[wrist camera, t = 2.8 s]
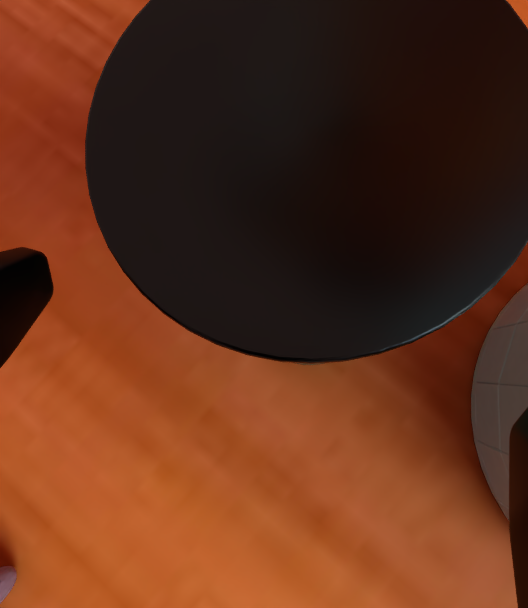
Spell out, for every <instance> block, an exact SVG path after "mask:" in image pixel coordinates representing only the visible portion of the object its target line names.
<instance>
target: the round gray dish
mask: <svg viewBox="0 0 528 608" xmlns="http://www.w3.org/2000/svg"><path fill="white" fill-rule="evenodd" d="M527 407H528V283H527V284H526V285H525V286H524V287H523V288H521V289H520V290H519V291H518V292H517V293H516V294H515V295H514V296H513V297H512V298H511V300H510V301H509V302H508V303H507V304H506V306H505V307H504V308H503V309H502V311H501V312H500V313H499V315H498V317H497V318H496V320H495V321H494V323H493V325H492V326H491V328H490V330H489V331H488V334H487V336H486V338H485V341H484V343H483V345H482V348H481V350H480V353H479V357H478V360H477V364H476V368H475V371H474V377H473V385H472V393H471V421H472V428H473V435H474V442H475V446H476V450H477V453H478V457H479V461H480V464H481V468H482V470H483V473H484V475H485V477H486V480H487V482H488V485H489V487H490V490H491V492H492V494H493V495H494V497H495V499H496V501H497V502H498V504H499V506H500V508H501V510H502V511H503V513H504V515H505V516H506V517H507V519H508V520H509V436H510V432H511V429H512V426H513V425H514V423H515V422H516V421H517V419H518V418H519V417H520V416H521V415H522V413H523V412H524V411H525V410H526V408H527Z"/></svg>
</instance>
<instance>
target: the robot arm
mask: <svg viewBox="0 0 528 608" xmlns="http://www.w3.org/2000/svg"><path fill="white" fill-rule="evenodd" d="M53 289H54V287H53V282H52V278H51V273H50V269H49V264H48V260H47V257H46V256H45V255H44V254H43V253H42V252H40V251H36V250H33V249H29V248H25V247H20V248H15V249H11V250H6V251H2V252H0V368H1V367H2V366H3V365H4V363H5V362H6V361H7V360H8V358H9V357H10V356H11V354H12V353H13V352H14V350H15V349H16V348H17V346H18V345H19V343H20V342H21V340H22V339H23V338H24V336H25V335H26V333H27V332H28V331H29V329H30V328H31V326H32V325H33V323H34V322H35V321H36V319H37V318H38V316H39V315H40V314H41V312H42V311H43V309H44V308H45V306H46V305H47V304H48V302H49V301H50V299H51V297H52V295H53ZM509 530H510V541H511V550H512V559H513V568H514V577H515V586H516V594H517V603H518V608H528V407H527V408H526V410H525V411H524V412H523V413H522V415H521V416H520V417H519V418H518V419H517V421H516V422H515V423H514V425H513V426H512V429H511V432H510V436H509Z"/></svg>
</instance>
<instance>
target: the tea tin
mask: <svg viewBox="0 0 528 608" xmlns="http://www.w3.org/2000/svg"><path fill="white" fill-rule="evenodd" d="M85 164H86V174H87V182H88V189H89V195H90V199H91V202H92V206H93V209H94V213H95V217H96V220H97V223H98V225H99V228H100V230H101V232H102V234H103V237H104V239H105V241H106V243H107V246H108V248H109V250H110V251H111V253H112V254H113V256H114V258H115V259H116V261H117V262H118V264H119V266H120V267H121V269H122V270H123V272H124V273H125V274H126V276H127V277H128V278H129V279H130V280H131V282H132V283H133V284H134V285H135V286H136V288H137V289H138V290H139V291H140V292H141V294H142V295H143V296H145V297H146V298H147V299H148V300H149V301H150V302H151V303H152V304H153V305H155V306H156V307H157V308H158V309H159V310H160V311H161V312H162V313H163V314H165V315H166V316H168V317H169V318H171V319H172V320H173V321H175V322H176V323H178V324H179V325H181V326H182V327H184V328H185V329H187V330H188V331H190V332H192V333H194V334H196V335H198V336H200V337H202V338H204V339H206V340H208V341H210V342H212V343H214V344H216V345H219V346H222V347H224V348H227V349H230V350H233V351H236V352H239V353H242V354H245V355H249V356H253V357H258V358H263V359H269V360H274V361H279V362H287V363H297V364H304V365H316V364H323V363H333V362H344V361H349V360H354V359H359V358H363V357H368V356H373V355H378V354H381V353H384V352H387V351H390V350H393V349H396V348H399V347H401V346H404V345H407V344H410V343H413V342H415V341H416V340H418V339H420V338H422V337H424V336H426V335H428V334H430V333H432V332H434V331H436V330H438V329H440V328H442V327H444V326H445V325H447V324H448V323H450V322H451V321H452V320H454V319H455V318H457V317H458V316H460V315H461V314H463V313H464V312H466V311H467V310H468V309H470V308H471V307H472V306H473V305H474V304H475V303H477V302H478V301H479V300H480V299H481V298H482V297H483V296H484V295H485V294H486V293H488V292H489V291H490V290H491V289H492V288H493V287H494V286H495V285H496V284H497V283H498V282H499V280H500V279H501V278H502V277H503V276H504V274H505V273H506V272H507V271H508V270H509V268H510V267H511V266H512V265H513V264H514V262H515V261H516V260H517V258H518V256H519V255H520V253H521V252H522V250H523V248H524V247H525V245H526V243H527V242H528V29H527V27H526V26H525V24H524V23H523V21H522V20H521V19H520V17H519V16H518V15H517V13H516V12H515V11H514V9H513V8H512V6H511V5H510V4H509V3H508V2H507V1H506V0H150V1H149V2H148V3H147V4H146V6H145V7H144V8H143V9H142V10H141V11H140V12H139V13H138V14H137V15H136V16H135V18H134V19H133V20H132V22H131V23H130V25H129V26H128V27H127V29H126V30H125V31H124V33H123V34H122V36H121V37H120V38H119V40H118V42H117V44H116V45H115V47H114V49H113V51H112V53H111V54H110V56H109V58H108V60H107V62H106V64H105V66H104V69H103V71H102V74H101V76H100V78H99V81H98V83H97V86H96V89H95V92H94V96H93V100H92V104H91V108H90V111H89V117H88V124H87V132H86V140H85Z"/></svg>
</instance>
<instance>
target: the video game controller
mask: <svg viewBox="0 0 528 608" xmlns="http://www.w3.org/2000/svg"><path fill="white" fill-rule="evenodd" d="M15 581H16V569H15V568H14V567H13V566H3V567H1V568H0V603H1V602H2V601H3V600H4V599H5V597H6V596H7V595H8V593H9V592H10V591H11V589H12V587H13V586H14V583H15Z"/></svg>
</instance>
